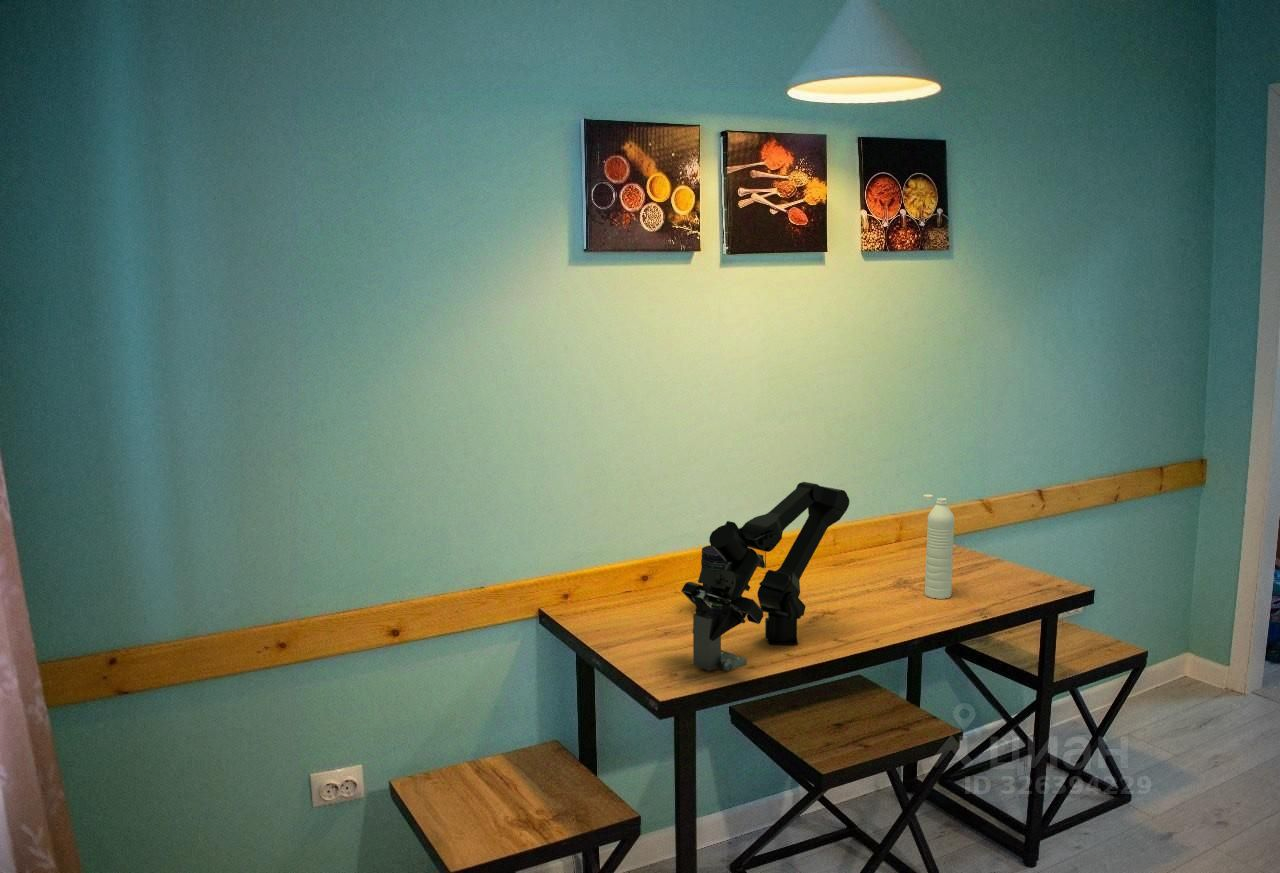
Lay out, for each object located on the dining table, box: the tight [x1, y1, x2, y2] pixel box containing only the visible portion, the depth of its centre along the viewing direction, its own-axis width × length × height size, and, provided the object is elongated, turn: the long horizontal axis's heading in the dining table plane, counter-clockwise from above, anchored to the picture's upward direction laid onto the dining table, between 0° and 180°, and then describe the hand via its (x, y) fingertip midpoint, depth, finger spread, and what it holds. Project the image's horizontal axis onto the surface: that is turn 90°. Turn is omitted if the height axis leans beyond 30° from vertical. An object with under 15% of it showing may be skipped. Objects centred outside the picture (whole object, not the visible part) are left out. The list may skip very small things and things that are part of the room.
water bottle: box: [922, 494, 955, 600], centre depth 270 cm, size 9×6×25 cm
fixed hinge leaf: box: [718, 649, 748, 672], centre depth 226 cm, size 7×8×2 cm
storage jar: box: [700, 544, 729, 615], centre depth 260 cm, size 10×10×15 cm
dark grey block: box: [692, 610, 722, 672], centre depth 222 cm, size 4×4×11 cm
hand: (702, 637), depth 221 cm, fingers closed on dark grey block, 4 cm apart
